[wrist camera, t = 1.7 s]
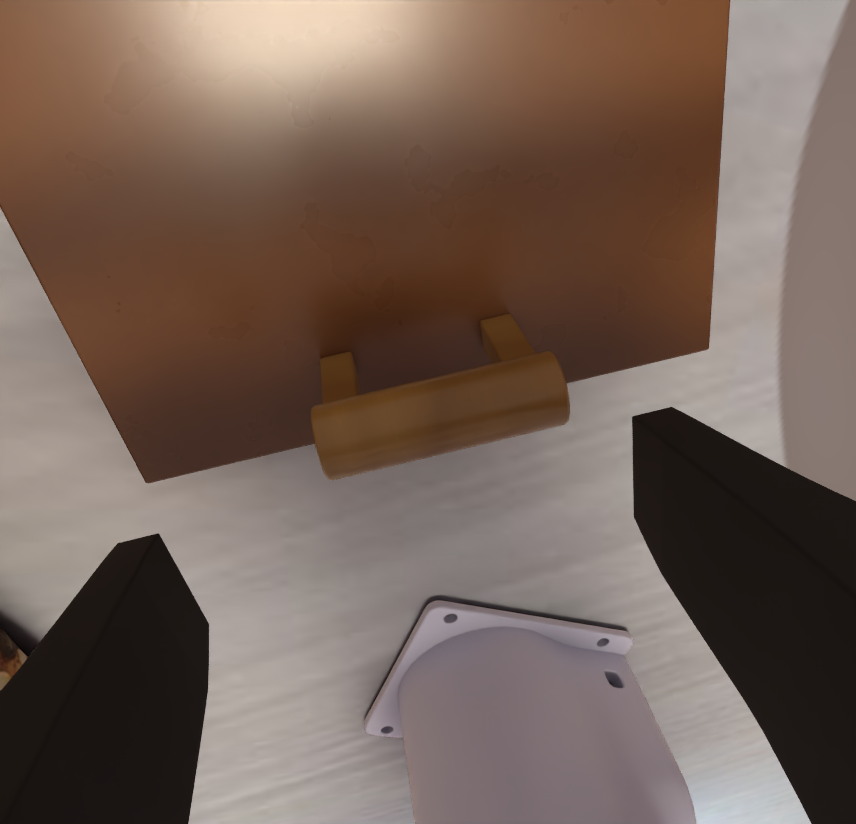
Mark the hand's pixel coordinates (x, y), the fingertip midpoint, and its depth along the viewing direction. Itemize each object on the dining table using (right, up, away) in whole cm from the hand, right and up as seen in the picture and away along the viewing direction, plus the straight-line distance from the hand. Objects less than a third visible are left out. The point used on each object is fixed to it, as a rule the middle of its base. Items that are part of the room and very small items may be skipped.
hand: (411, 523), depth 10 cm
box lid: (-1, +6, +3) cm, 7 cm away
